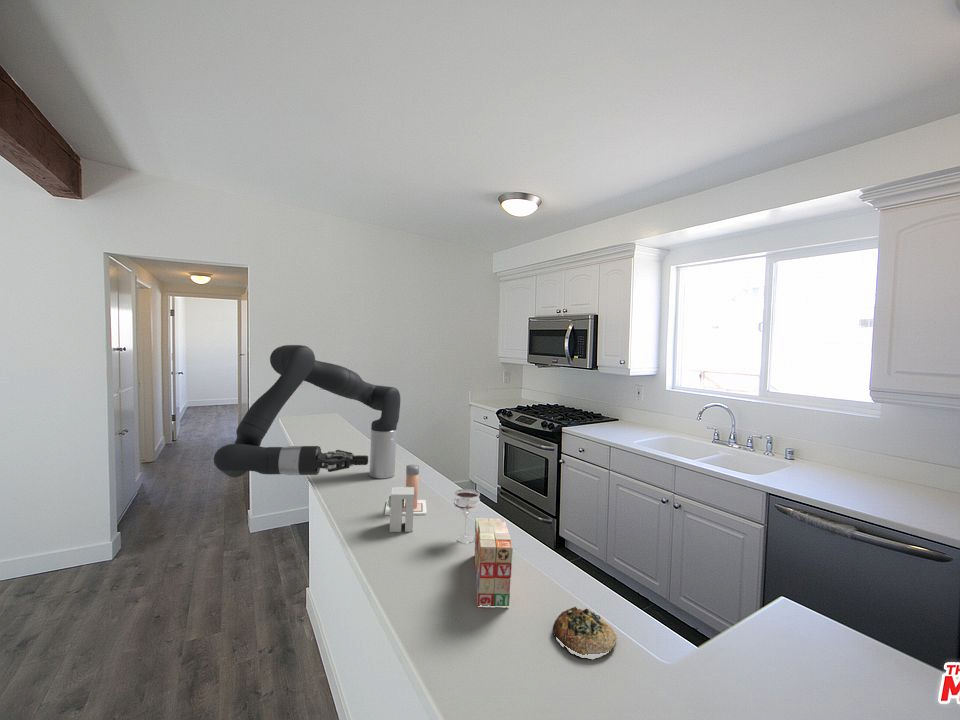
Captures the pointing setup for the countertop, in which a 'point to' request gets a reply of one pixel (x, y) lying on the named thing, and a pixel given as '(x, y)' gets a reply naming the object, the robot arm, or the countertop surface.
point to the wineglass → (466, 508)
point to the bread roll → (584, 632)
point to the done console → (396, 508)
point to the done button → (390, 502)
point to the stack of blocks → (492, 562)
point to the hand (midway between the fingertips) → (367, 460)
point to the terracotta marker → (412, 481)
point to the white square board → (418, 511)
